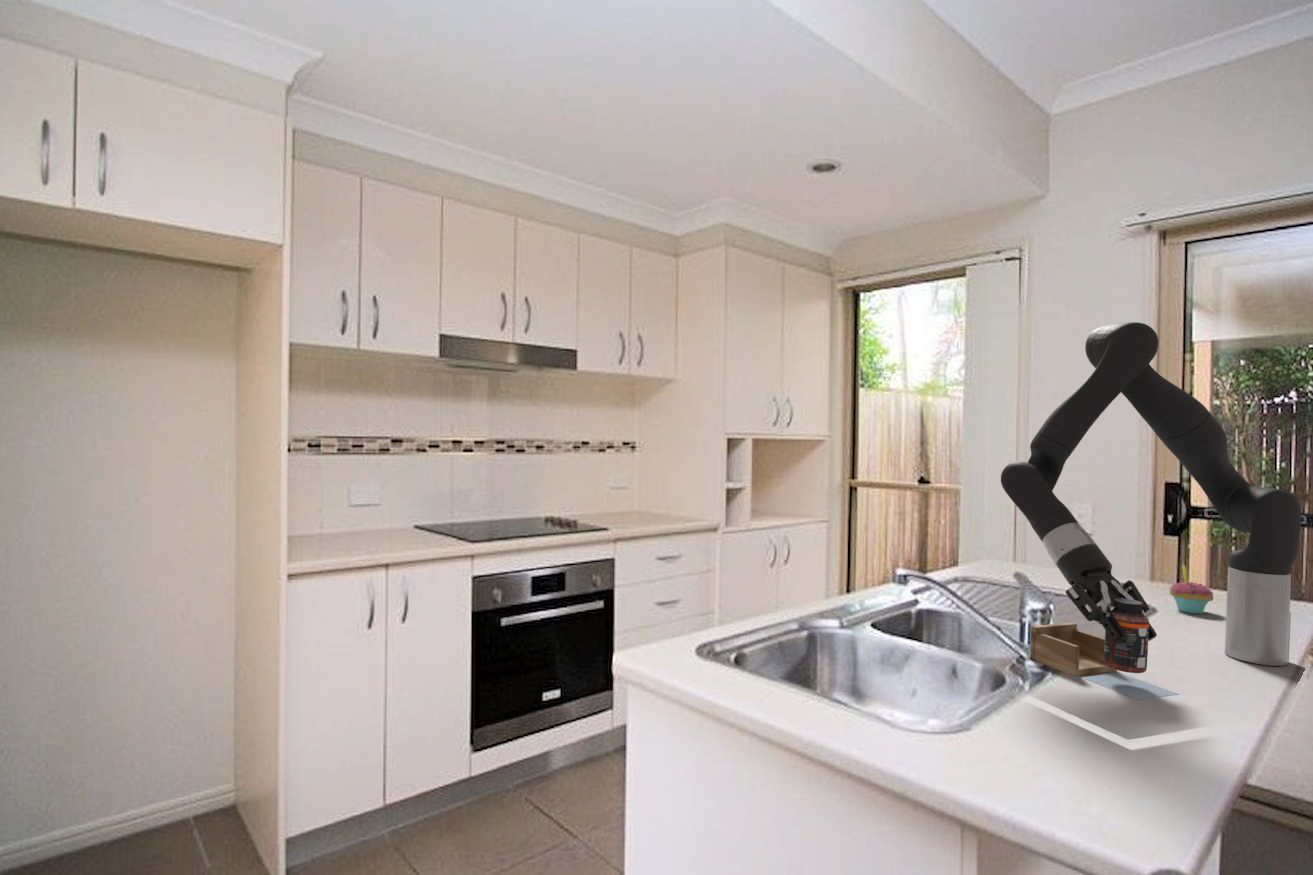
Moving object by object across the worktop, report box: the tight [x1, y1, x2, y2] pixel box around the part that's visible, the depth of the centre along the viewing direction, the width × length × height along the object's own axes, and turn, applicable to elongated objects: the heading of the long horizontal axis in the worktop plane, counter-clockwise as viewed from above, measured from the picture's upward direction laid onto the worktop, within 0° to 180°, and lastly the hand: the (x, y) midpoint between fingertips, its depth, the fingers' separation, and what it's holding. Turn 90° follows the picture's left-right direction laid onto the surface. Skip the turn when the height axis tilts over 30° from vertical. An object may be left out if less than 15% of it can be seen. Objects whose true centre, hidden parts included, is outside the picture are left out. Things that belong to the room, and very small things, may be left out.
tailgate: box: [1080, 672, 1178, 701], centre depth 115 cm, size 9×1×10 cm
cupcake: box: [1169, 561, 1214, 615], centre depth 170 cm, size 9×8×12 cm
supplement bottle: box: [1104, 598, 1150, 674], centre depth 115 cm, size 6×6×11 cm
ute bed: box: [1030, 622, 1118, 677], centre depth 125 cm, size 10×9×7 cm
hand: (1137, 639), depth 113 cm, fingers closed on supplement bottle, 6 cm apart
